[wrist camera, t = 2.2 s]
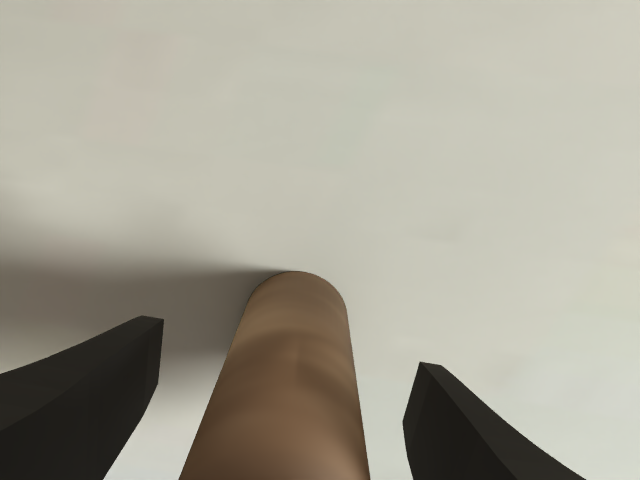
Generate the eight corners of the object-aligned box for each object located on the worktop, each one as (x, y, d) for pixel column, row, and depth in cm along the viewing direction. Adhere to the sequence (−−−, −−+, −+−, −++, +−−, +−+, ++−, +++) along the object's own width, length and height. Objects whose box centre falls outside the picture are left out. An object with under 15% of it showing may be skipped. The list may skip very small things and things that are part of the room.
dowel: (356, 281, 14) (399, 468, 7) (336, 371, 15) (353, 624, 8) (252, 263, 14) (174, 433, 7) (238, 355, 15) (155, 597, 8)
